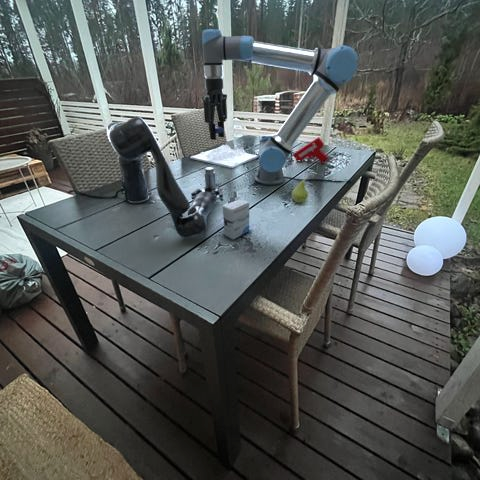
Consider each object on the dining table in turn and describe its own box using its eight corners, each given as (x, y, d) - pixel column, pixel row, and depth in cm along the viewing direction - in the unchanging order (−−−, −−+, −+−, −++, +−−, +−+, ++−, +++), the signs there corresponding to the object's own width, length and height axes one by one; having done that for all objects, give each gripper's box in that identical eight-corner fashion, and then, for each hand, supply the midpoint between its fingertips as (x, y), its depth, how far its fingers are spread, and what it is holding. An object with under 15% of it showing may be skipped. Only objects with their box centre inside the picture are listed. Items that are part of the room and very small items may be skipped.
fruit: (288, 200, 123) (290, 174, 116) (302, 197, 125) (305, 172, 119) (296, 206, 118) (299, 179, 111) (310, 203, 120) (314, 177, 114)
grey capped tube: (212, 206, 119) (210, 170, 110) (204, 204, 121) (201, 168, 112) (218, 202, 122) (216, 167, 113) (210, 200, 124) (208, 166, 115)
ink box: (240, 226, 103) (240, 197, 97) (249, 231, 100) (250, 202, 94) (223, 234, 98) (222, 205, 92) (232, 240, 95) (232, 209, 89)
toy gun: (331, 157, 168) (319, 136, 164) (331, 159, 164) (318, 137, 160) (306, 172, 178) (294, 153, 174) (305, 174, 174) (292, 154, 170)
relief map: (232, 168, 162) (231, 159, 159) (190, 158, 179) (189, 150, 177) (257, 157, 180) (257, 149, 177) (217, 149, 198) (217, 142, 195)
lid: (222, 130, 123) (222, 126, 122) (222, 133, 119) (222, 128, 118) (211, 131, 123) (211, 126, 122) (210, 133, 118) (210, 128, 117)
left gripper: (220, 196, 103) (227, 180, 117) (184, 194, 105) (195, 179, 119) (221, 214, 107) (228, 196, 121) (186, 212, 109) (197, 195, 123)
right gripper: (220, 77, 117) (223, 133, 130) (191, 78, 105) (197, 141, 118) (234, 77, 114) (235, 135, 126) (206, 79, 101) (210, 143, 114)
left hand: (212, 188), depth 120 cm, fingers closed on grey capped tube, 4 cm apart
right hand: (217, 138), depth 122 cm, fingers closed on lid, 5 cm apart
